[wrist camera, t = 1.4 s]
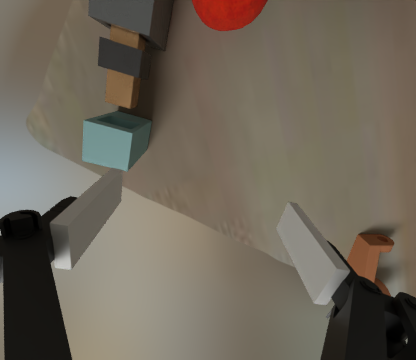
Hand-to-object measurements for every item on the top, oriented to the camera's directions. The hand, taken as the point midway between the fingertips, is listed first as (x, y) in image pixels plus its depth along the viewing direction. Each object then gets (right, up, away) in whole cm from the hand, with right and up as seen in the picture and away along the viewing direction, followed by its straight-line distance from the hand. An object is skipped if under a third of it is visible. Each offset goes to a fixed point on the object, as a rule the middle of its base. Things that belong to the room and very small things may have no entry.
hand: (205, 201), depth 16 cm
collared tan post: (-10, +20, +11) cm, 25 cm away
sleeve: (-9, +26, +14) cm, 30 cm away
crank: (+39, -20, +37) cm, 57 cm away
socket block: (-13, +11, +21) cm, 27 cm away
